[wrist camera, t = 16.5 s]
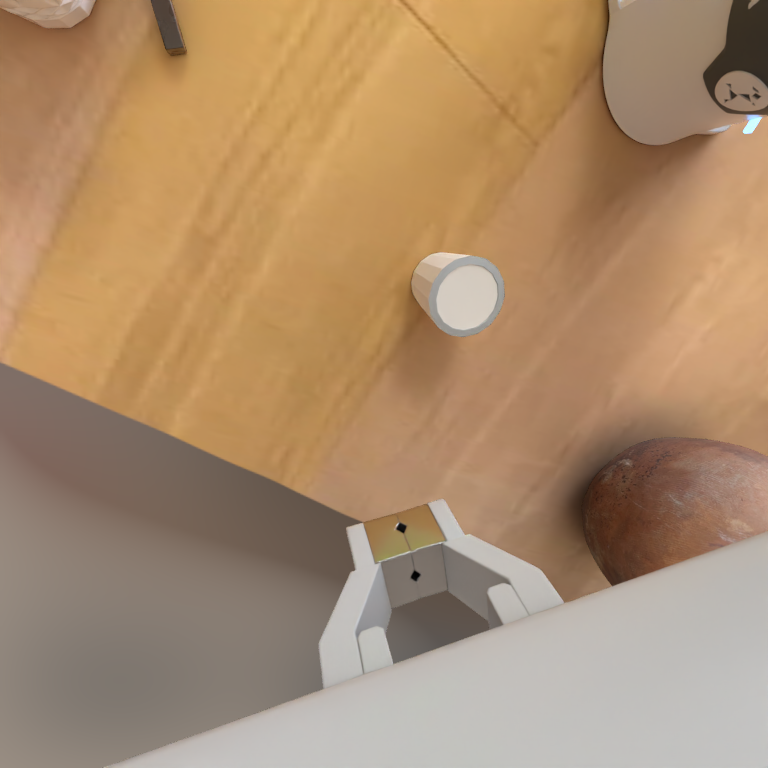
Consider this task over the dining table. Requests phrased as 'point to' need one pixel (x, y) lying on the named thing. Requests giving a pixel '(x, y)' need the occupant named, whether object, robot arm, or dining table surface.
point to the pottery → (673, 504)
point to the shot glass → (458, 292)
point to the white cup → (50, 11)
